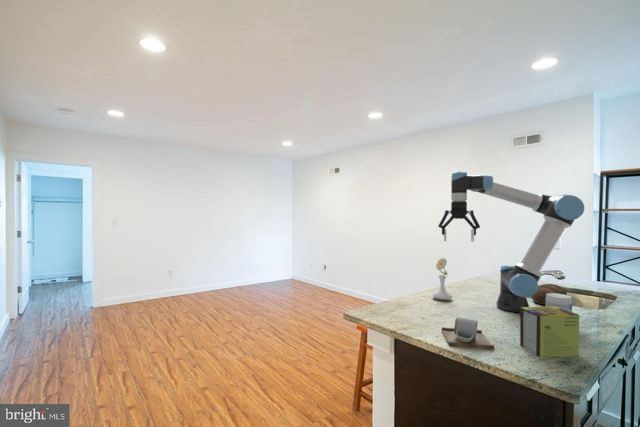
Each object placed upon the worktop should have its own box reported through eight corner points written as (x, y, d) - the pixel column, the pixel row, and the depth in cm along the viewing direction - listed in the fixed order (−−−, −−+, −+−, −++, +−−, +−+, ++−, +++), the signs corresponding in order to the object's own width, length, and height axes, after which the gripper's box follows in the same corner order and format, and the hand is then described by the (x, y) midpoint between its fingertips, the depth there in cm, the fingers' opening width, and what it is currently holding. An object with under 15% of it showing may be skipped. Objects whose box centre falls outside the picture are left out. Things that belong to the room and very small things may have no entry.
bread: (525, 302, 183) (526, 288, 183) (541, 291, 208) (541, 278, 208) (559, 308, 172) (559, 293, 172) (570, 296, 197) (571, 282, 197)
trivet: (481, 334, 134) (481, 330, 134) (494, 351, 119) (494, 345, 119) (441, 331, 137) (441, 327, 137) (449, 347, 122) (449, 342, 122)
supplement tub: (575, 333, 137) (576, 299, 137) (550, 330, 140) (550, 297, 139) (566, 325, 146) (566, 293, 146) (542, 322, 149) (542, 292, 149)
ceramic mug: (454, 331, 132) (457, 313, 132) (476, 337, 128) (478, 319, 128) (451, 339, 123) (454, 319, 123) (475, 345, 119) (477, 325, 119)
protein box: (579, 357, 114) (580, 314, 114) (539, 358, 113) (540, 315, 113) (555, 344, 125) (556, 305, 124) (519, 346, 123) (519, 306, 123)
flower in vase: (430, 295, 196) (430, 255, 196) (449, 296, 194) (449, 256, 194) (435, 301, 183) (435, 258, 183) (455, 302, 181) (456, 259, 181)
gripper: (482, 201, 168) (481, 241, 168) (433, 201, 173) (432, 240, 173) (486, 200, 160) (486, 242, 161) (435, 201, 165) (435, 241, 165)
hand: (458, 241), depth 167 cm, fingers open, 13 cm apart
